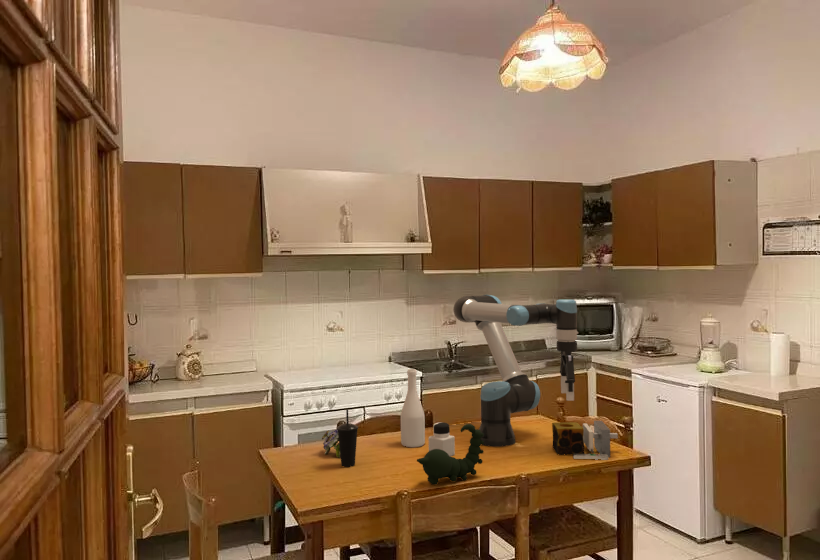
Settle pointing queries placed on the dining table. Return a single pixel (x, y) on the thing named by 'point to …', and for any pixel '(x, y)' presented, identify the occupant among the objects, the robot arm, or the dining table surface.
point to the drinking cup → (347, 442)
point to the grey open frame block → (599, 443)
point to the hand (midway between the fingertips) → (567, 396)
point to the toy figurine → (453, 460)
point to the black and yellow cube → (568, 438)
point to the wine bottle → (412, 415)
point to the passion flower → (331, 442)
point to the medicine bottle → (442, 439)
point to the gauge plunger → (590, 435)
